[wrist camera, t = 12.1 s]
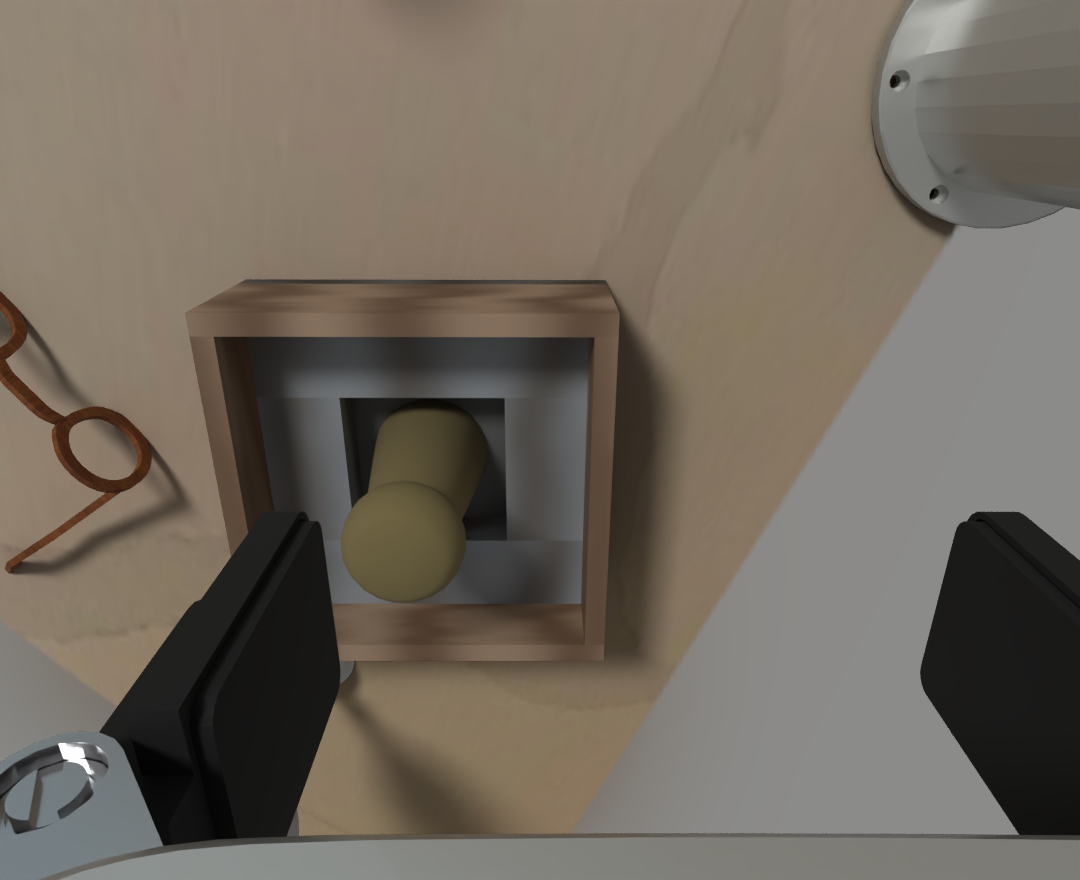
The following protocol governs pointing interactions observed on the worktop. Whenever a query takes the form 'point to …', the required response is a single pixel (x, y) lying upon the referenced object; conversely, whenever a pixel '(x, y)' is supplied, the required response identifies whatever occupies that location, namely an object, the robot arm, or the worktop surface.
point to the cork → (415, 502)
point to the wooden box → (405, 376)
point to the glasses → (67, 435)
